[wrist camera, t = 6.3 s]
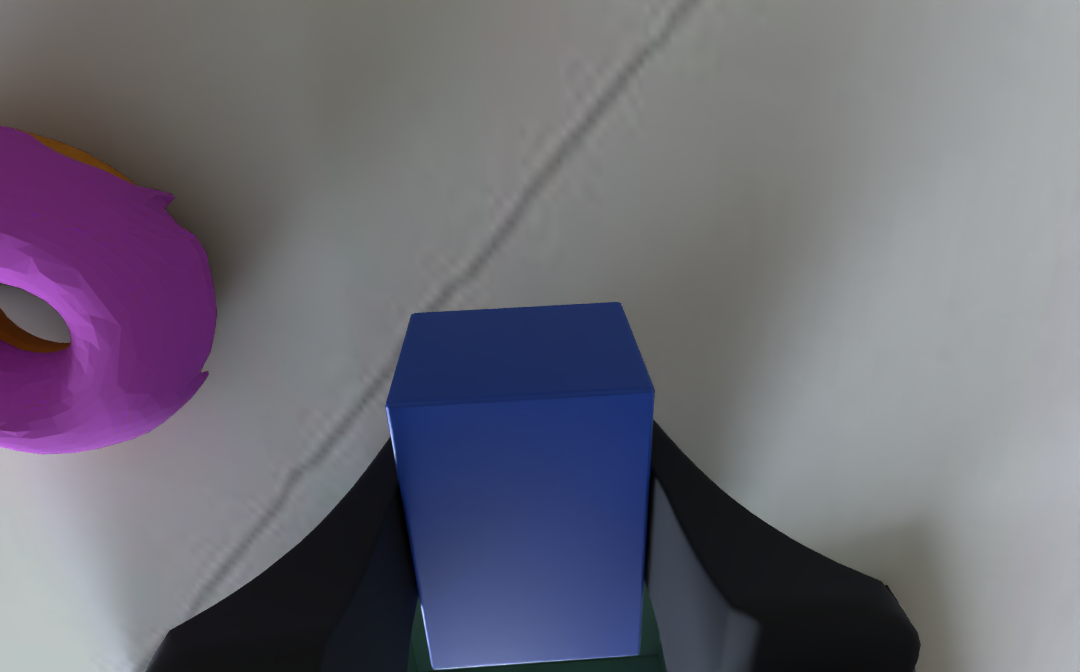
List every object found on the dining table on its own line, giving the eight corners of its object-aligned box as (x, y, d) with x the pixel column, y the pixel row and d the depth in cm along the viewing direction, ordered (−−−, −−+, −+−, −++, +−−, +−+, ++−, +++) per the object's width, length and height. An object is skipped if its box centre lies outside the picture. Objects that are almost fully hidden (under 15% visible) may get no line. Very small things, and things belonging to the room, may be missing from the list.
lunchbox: (408, 669, 30) (394, 773, 26) (370, 483, 25) (344, 578, 21) (666, 650, 30) (691, 750, 26) (682, 463, 25) (717, 552, 21)
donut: (-162, 285, 20) (-329, 357, 16) (-43, 10, 17) (-214, 13, 13) (154, 451, 24) (82, 544, 20) (303, 250, 20) (254, 312, 16)
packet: (444, 547, 17) (431, 671, 14) (410, 312, 14) (383, 404, 11) (615, 536, 17) (640, 656, 14) (621, 299, 14) (656, 388, 11)
